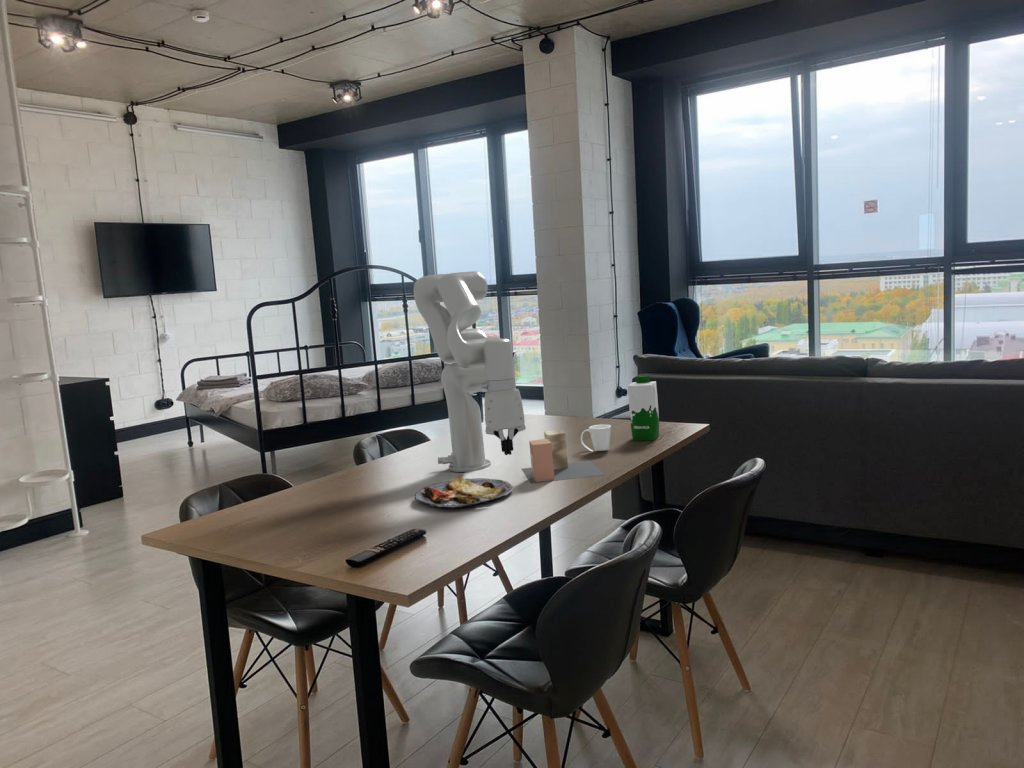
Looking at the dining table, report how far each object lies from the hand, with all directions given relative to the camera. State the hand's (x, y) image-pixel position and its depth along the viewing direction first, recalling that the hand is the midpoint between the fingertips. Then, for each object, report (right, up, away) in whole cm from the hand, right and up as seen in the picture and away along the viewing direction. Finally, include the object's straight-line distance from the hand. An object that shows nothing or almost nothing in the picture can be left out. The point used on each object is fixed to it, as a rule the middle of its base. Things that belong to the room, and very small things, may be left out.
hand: (507, 453), depth 204 cm
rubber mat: (+15, -6, +8) cm, 18 cm away
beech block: (+14, -5, +14) cm, 20 cm away
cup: (+27, -2, +29) cm, 40 cm away
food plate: (-11, -11, -8) cm, 18 cm away
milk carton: (+44, +1, +43) cm, 62 cm away
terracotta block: (+10, -7, +2) cm, 12 cm away
